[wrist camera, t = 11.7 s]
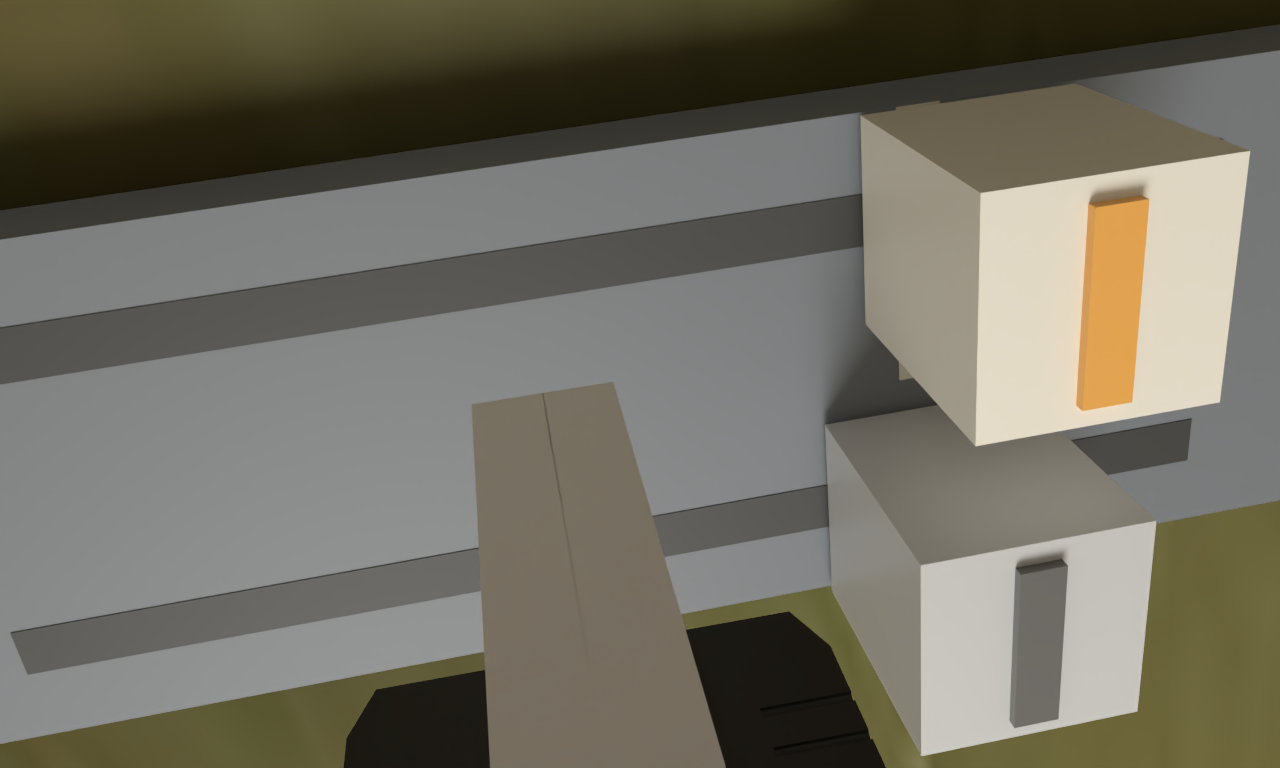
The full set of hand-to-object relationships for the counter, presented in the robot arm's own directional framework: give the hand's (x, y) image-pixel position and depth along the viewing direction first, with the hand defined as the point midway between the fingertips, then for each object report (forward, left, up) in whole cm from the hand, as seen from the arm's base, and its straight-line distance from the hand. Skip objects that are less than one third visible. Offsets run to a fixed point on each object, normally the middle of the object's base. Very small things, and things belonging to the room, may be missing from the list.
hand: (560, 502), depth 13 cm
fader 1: (+1, +8, -9) cm, 12 cm away
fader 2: (+7, +8, -9) cm, 13 cm away
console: (+4, +2, -11) cm, 12 cm away
